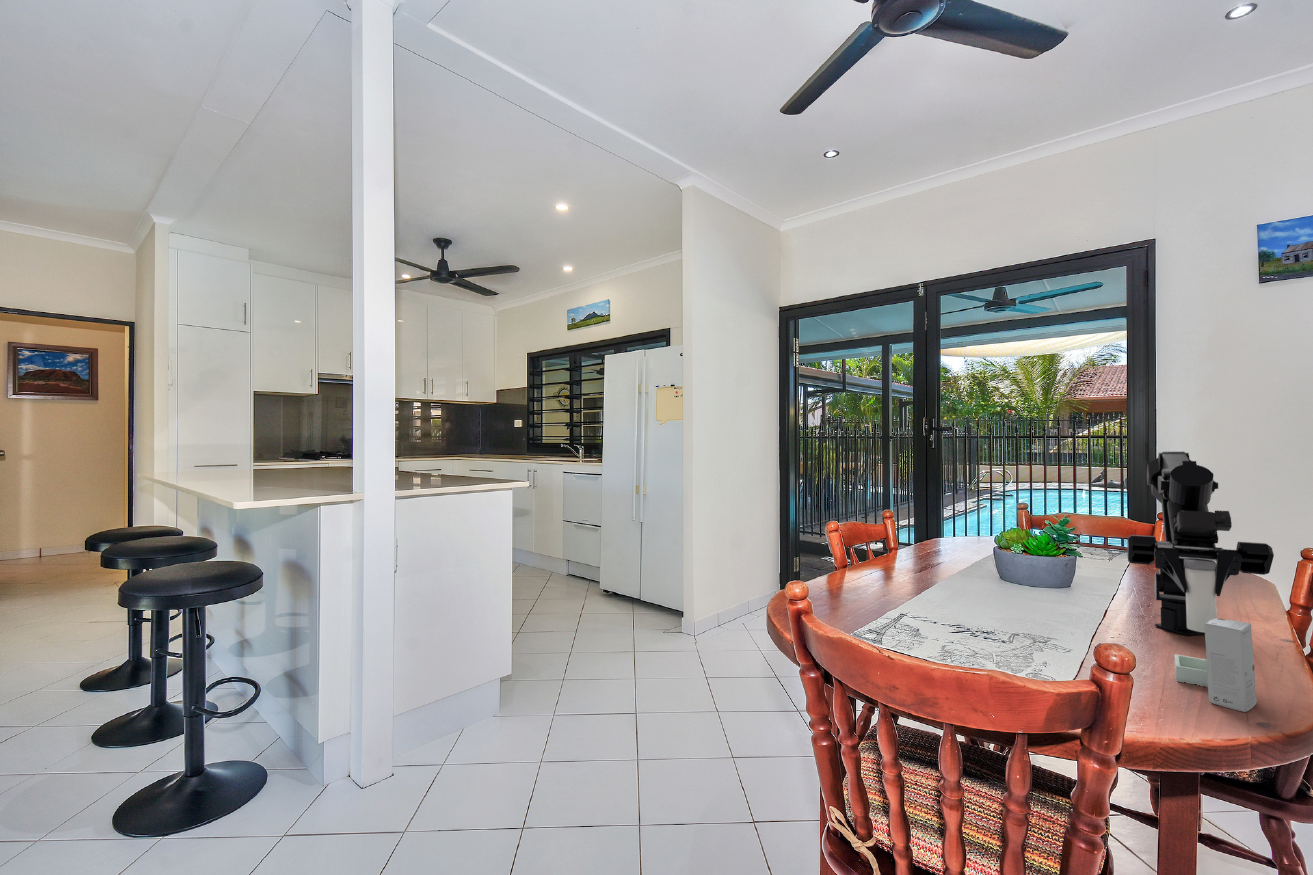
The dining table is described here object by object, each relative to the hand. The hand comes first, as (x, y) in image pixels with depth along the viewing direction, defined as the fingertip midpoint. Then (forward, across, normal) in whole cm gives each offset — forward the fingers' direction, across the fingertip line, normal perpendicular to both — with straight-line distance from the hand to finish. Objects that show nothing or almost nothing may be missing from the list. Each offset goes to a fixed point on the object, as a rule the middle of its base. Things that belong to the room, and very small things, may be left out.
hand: (1201, 593), depth 97 cm
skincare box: (+18, +2, +2) cm, 19 cm away
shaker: (+4, 0, +6) cm, 7 cm away
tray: (+12, 0, +8) cm, 14 cm away
